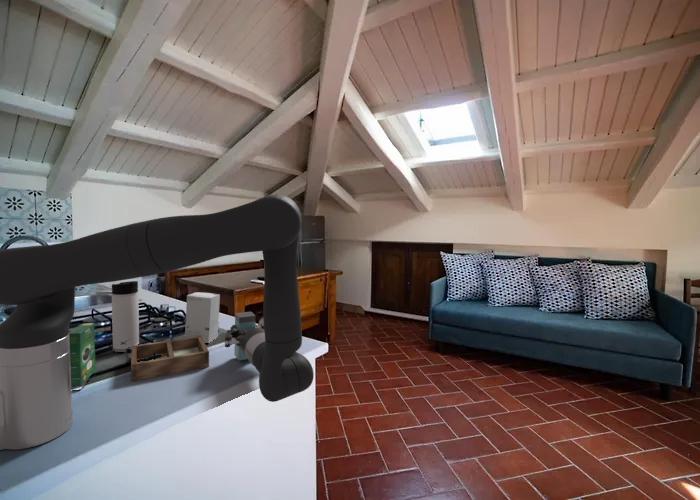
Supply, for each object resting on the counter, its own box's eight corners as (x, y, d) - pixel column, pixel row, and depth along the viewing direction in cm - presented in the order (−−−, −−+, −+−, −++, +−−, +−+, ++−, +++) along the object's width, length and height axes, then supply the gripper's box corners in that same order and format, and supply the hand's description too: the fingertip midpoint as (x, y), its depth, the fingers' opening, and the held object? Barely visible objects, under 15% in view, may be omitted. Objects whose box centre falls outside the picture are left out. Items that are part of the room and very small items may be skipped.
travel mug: (126, 354, 91) (125, 283, 89) (107, 351, 92) (105, 281, 90) (145, 346, 97) (144, 279, 95) (126, 343, 98) (125, 278, 96)
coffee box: (82, 375, 78) (80, 322, 77) (96, 373, 79) (95, 321, 78) (65, 392, 71) (63, 334, 70) (81, 390, 72) (79, 333, 71)
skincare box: (184, 342, 101) (184, 295, 100) (195, 335, 107) (195, 291, 106) (210, 344, 100) (210, 297, 99) (219, 337, 106) (220, 292, 105)
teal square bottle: (238, 360, 88) (239, 317, 87) (234, 354, 92) (235, 313, 91) (254, 357, 91) (255, 315, 89) (250, 351, 94) (251, 311, 93)
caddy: (131, 381, 76) (131, 365, 76) (132, 360, 87) (132, 345, 87) (208, 366, 86) (209, 351, 85) (201, 349, 97) (201, 335, 96)
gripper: (289, 329, 82) (267, 311, 96) (230, 337, 74) (215, 317, 89) (288, 357, 83) (266, 336, 97) (229, 369, 75) (215, 343, 89)
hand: (242, 327), depth 93 cm, fingers closed on teal square bottle, 4 cm apart
